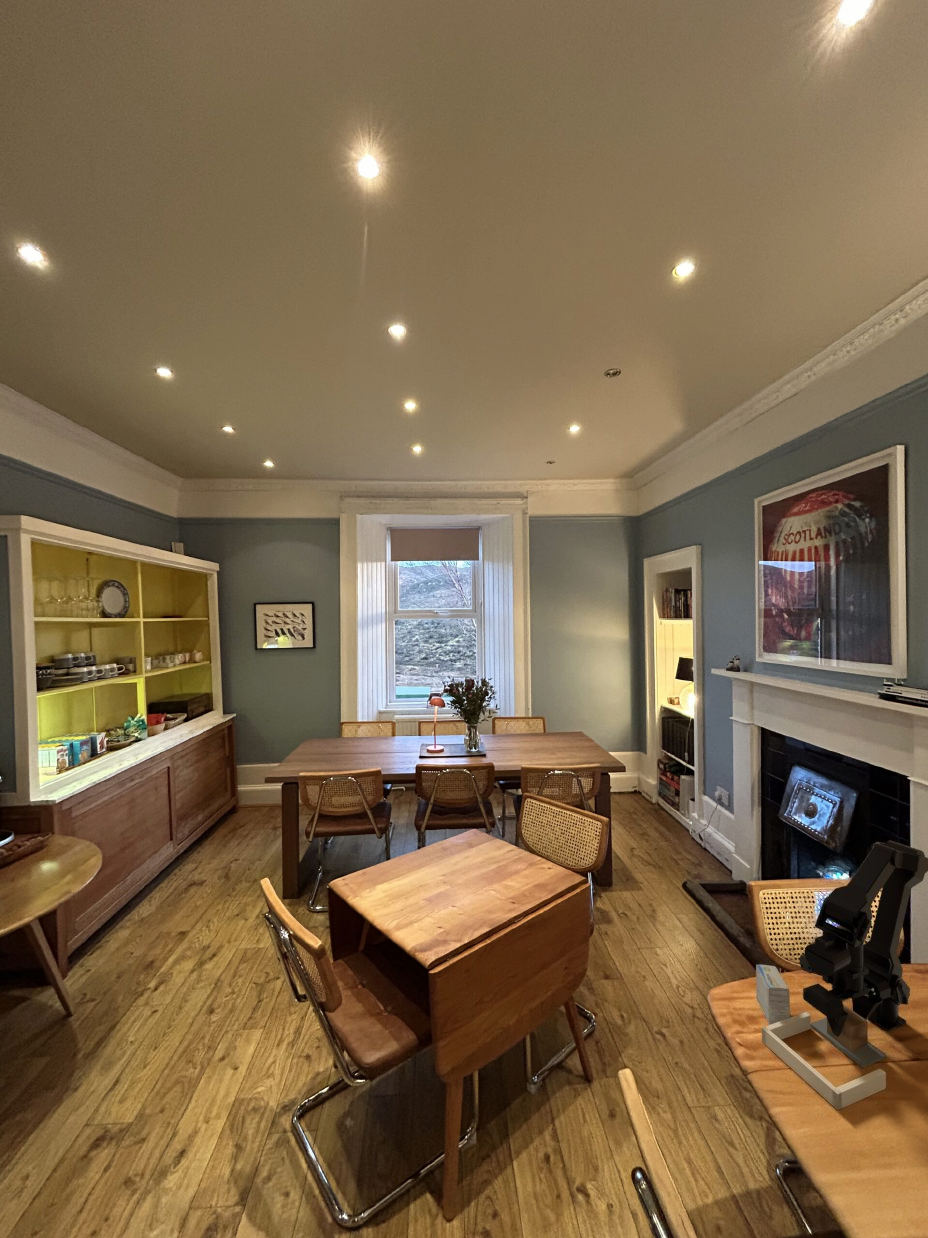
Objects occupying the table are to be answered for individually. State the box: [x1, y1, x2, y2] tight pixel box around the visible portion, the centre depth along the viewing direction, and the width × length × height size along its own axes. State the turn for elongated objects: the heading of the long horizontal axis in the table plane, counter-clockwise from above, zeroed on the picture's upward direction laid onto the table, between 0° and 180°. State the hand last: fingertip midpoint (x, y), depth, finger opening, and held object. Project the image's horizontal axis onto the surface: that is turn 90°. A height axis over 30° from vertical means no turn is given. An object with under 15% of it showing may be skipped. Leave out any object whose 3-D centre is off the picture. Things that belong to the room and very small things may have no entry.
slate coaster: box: [811, 1017, 887, 1069], centre depth 109 cm, size 7×11×1 cm, turn 19°
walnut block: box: [827, 1003, 869, 1051], centre depth 109 cm, size 5×5×5 cm
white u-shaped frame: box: [761, 1011, 887, 1111], centre depth 104 cm, size 13×16×3 cm
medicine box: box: [755, 964, 791, 1025], centre depth 117 cm, size 8×4×9 cm, turn 168°
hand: (846, 1031), depth 109 cm, fingers open, 6 cm apart
